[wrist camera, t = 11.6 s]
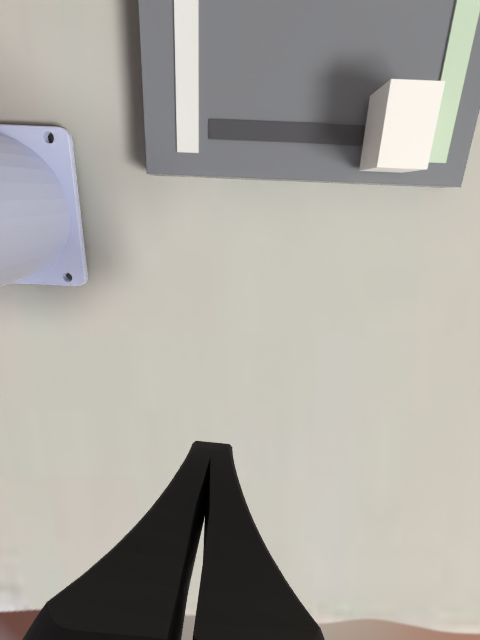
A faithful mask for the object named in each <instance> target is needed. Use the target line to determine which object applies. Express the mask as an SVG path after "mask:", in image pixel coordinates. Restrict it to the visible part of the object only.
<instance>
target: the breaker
mask: <svg viewBox="0 0 480 640" xmlns="http://www.w3.org/2000/svg"><path fill="white" fill-rule="evenodd" d="M444 86H445V81H433V80H407V79H390V80H389V81H388V82H387V83H385V84H384V85H383V86H382V87H380V88H379V89H378V90H377V91H375V92H374V93H373V94H372V95H370V99H369V106H368V113H367V120H366V127H365V134H364V140H363V147H362V154H361V161H360V168H359V171H374V172H398V173H404V172H411V171H419V170H426V169H427V168H428V163H429V158H430V154H431V149H432V144H433V139H434V134H435V129H436V125H437V120H438V115H439V110H440V105H441V100H442V96H443V91H444Z"/></svg>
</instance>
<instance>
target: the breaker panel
mask: <svg viewBox="0 0 480 640" xmlns="http://www.w3.org/2000/svg"><path fill="white" fill-rule="evenodd" d="M138 4H139V25H140V45H141V66H142V86H143V106H144V127H145V147H146V168H147V174H150V175H157V176H181V177H205V178H229V179H253V180H277V181H301V182H325V183H349V184H373V185H397V186H421V187H461V184H462V180H463V176H464V172H465V168H466V164H467V159H468V155H469V151H470V147H471V143H472V139H473V135H474V130H475V126H476V122H477V118H478V114H479V110H480V0H138ZM390 79H407V80H433V81H445V86H444V91H443V96H442V100H441V105H440V110H439V115H438V120H437V125H436V129H435V134H434V139H433V144H432V149H431V154H430V158H429V163H428V168H427V169H426V170H419V171H411V172H404V173H398V172H374V171H359V168H360V161H361V154H362V147H363V140H364V134H365V127H366V120H367V113H368V106H369V99H370V95H372V94H373V93H374V92H375V91H377V90H378V89H379V88H380V87H382V86H383V85H384V84H385V83H387V82H388V81H389V80H390Z"/></svg>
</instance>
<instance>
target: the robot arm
mask: <svg viewBox="0 0 480 640" xmlns="http://www.w3.org/2000/svg"><path fill="white" fill-rule="evenodd" d="M50 133H52V134H53V136H54V141H53V143H50V142H49V141H48V135H49V134H50ZM67 273H69V274H71V276H72V280H69V279H68V278H67V276H66V274H67ZM87 280H88V273H87V264H86V255H85V246H84V237H83V228H82V220H81V211H80V202H79V193H78V184H77V176H76V167H75V158H74V149H73V140H72V136H71V134H70V133H69V131H67V130H66V129H64V128H61V127H55V126H30V125H5V124H0V287H3V286H5V285H8V284H11V283H17V284H40V285H62V286H82V285H83V284H85V283H86V282H87ZM204 517H205V527H204V551H203V566H202V574H201V581H200V589H199V596H198V604H197V611H196V619H195V625H194V632H193V640H324V637H323V634H322V631H321V629H320V627H319V626H318V624H317V623H316V622H315V621H314V619H313V618H312V617H311V615H310V614H309V613H308V611H307V610H306V609H305V607H304V606H303V605H302V603H301V602H300V600H299V599H298V598H297V596H296V595H295V593H294V592H293V590H292V589H291V587H290V586H289V584H288V583H287V581H286V580H285V578H284V576H283V575H282V573H281V571H280V570H279V568H278V566H277V565H276V563H275V561H274V560H273V558H272V556H271V555H270V553H269V551H268V549H267V547H266V545H265V544H264V542H263V540H262V538H261V536H260V534H259V532H258V530H257V527H256V525H255V523H254V521H253V518H252V516H251V514H250V511H249V509H248V506H247V504H246V501H245V498H244V496H243V493H242V490H241V486H240V483H239V480H238V477H237V473H236V469H235V465H234V460H233V453H232V447H231V445H230V444H222V443H212V442H202V441H195V442H194V443H193V444H192V447H191V449H190V451H189V453H188V455H187V457H186V459H185V460H184V462H183V464H182V465H181V467H180V469H179V470H178V472H177V473H176V475H175V476H174V478H173V479H172V481H171V482H170V484H169V485H168V487H167V488H166V489H165V490H164V492H163V493H162V494H161V496H160V497H159V498H158V500H157V501H156V502H155V504H154V505H153V506H152V507H151V508H150V510H149V511H148V512H147V513H146V514H145V516H144V517H143V518H142V519H141V520H140V521H139V522H138V523H137V524H136V526H135V527H134V528H133V529H132V530H131V531H130V532H129V533H128V534H127V535H126V536H125V537H124V538H123V539H122V540H121V541H120V542H119V543H118V544H117V545H116V546H115V547H114V548H113V549H112V550H111V551H109V552H108V553H107V554H106V555H105V556H104V557H103V558H101V559H100V560H99V561H98V562H97V563H96V564H95V565H94V566H92V567H91V568H90V569H89V570H88V571H87V572H85V573H84V574H83V575H82V576H81V577H79V578H78V579H77V580H75V581H74V582H73V583H71V584H70V585H69V586H68V587H66V588H65V589H64V590H62V591H61V592H60V593H58V594H57V595H56V596H54V597H53V598H52V599H50V600H49V601H48V602H47V603H46V604H45V606H44V607H43V608H42V610H41V611H40V613H39V614H38V616H37V617H36V619H35V620H34V622H33V624H32V625H31V627H30V628H29V630H28V632H27V633H26V635H25V636H24V638H23V640H181V636H182V629H183V622H184V615H185V609H186V602H187V595H188V590H189V585H190V580H191V575H192V571H193V566H194V562H195V557H196V553H197V548H198V544H199V540H200V535H201V531H202V526H203V522H204Z"/></svg>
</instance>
